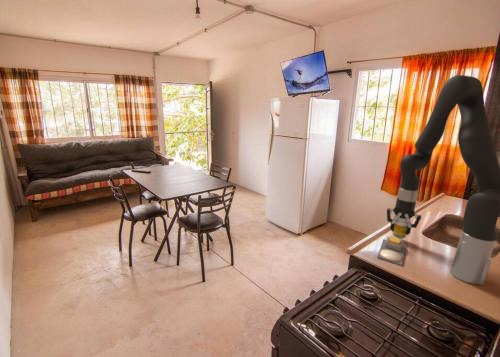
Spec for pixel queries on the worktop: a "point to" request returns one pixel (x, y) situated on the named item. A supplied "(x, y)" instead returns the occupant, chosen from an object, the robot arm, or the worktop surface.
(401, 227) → the supplement bottle
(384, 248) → the grey rectangular board
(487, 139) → the robot arm
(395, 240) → the button
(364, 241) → the worktop surface
